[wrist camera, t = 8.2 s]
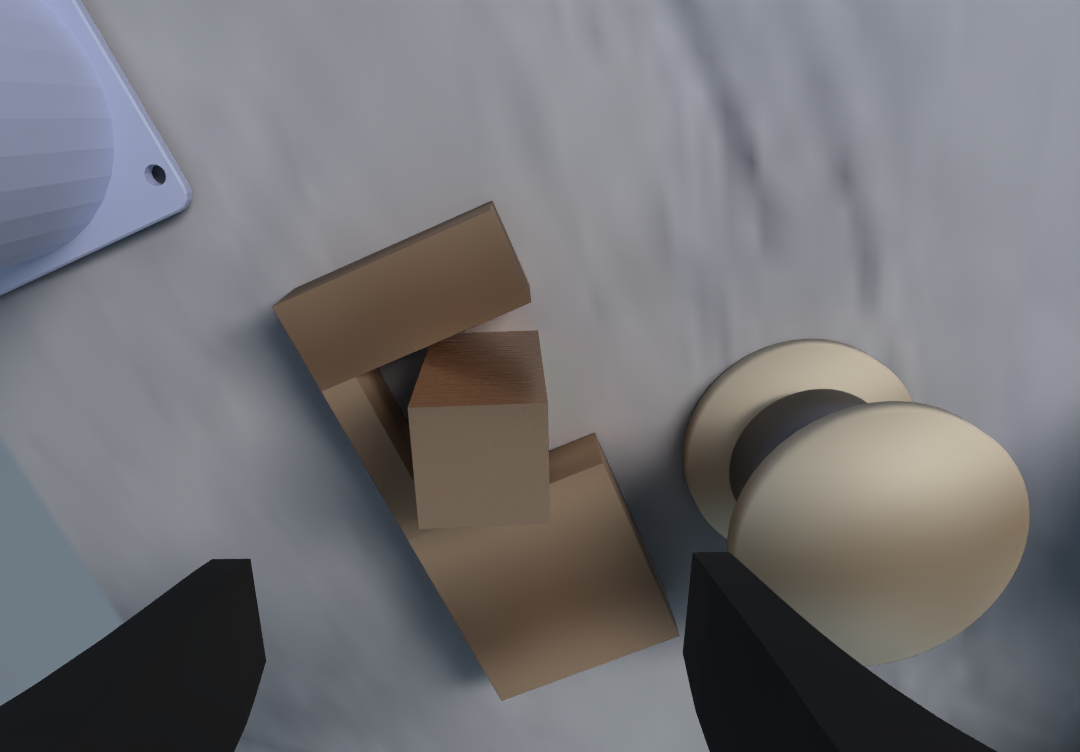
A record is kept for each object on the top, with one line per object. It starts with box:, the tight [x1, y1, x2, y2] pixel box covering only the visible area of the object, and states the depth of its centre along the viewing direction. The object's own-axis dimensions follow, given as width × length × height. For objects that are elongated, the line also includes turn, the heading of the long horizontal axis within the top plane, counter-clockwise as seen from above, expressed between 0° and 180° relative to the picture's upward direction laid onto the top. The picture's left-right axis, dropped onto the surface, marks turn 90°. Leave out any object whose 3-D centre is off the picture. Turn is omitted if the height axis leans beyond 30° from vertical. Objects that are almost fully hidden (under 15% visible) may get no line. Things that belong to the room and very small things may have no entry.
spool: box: [683, 339, 1030, 666], centre depth 19 cm, size 7×7×6 cm
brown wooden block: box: [408, 330, 550, 529], centre depth 18 cm, size 3×3×6 cm
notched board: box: [272, 201, 680, 701], centre depth 21 cm, size 14×6×2 cm, turn 23°
